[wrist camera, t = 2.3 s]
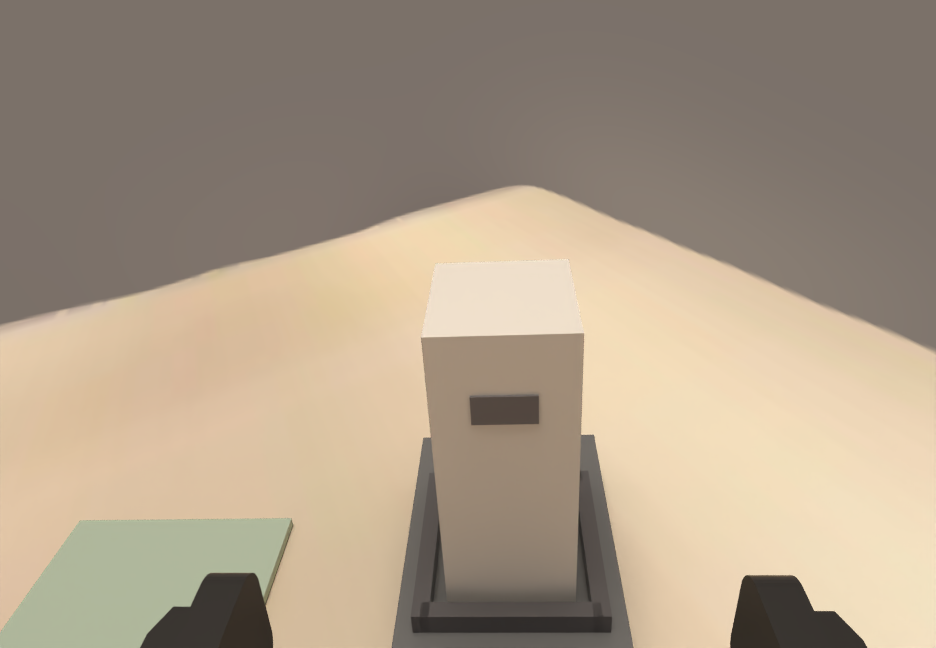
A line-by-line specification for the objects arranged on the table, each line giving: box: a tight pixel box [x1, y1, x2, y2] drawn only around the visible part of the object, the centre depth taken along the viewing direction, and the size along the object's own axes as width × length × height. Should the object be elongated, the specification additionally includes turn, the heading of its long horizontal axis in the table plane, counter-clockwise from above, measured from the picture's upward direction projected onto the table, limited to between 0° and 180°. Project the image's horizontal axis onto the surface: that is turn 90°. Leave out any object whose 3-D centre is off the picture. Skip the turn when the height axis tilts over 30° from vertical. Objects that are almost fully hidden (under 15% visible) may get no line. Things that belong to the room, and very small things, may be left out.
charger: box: [421, 259, 584, 602], centre depth 24 cm, size 5×4×11 cm
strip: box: [392, 435, 633, 648], centre depth 29 cm, size 38×8×3 cm, turn 178°
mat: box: [0, 518, 293, 648], centre depth 28 cm, size 10×10×1 cm
